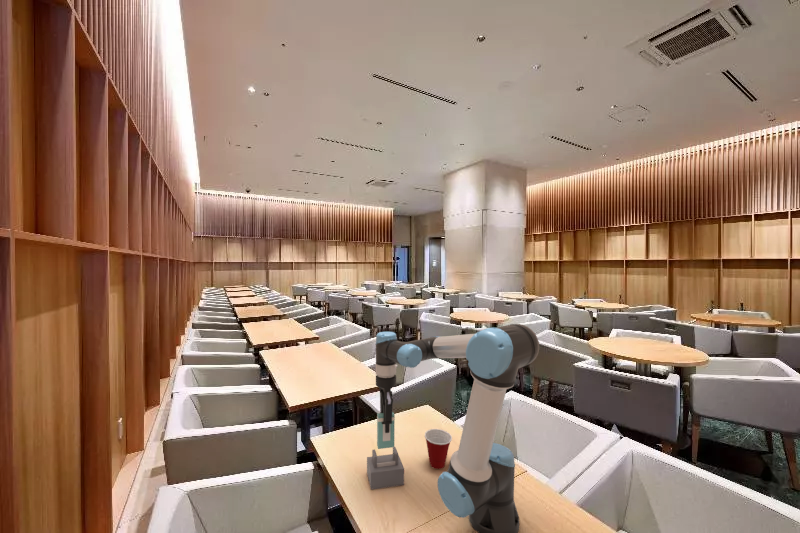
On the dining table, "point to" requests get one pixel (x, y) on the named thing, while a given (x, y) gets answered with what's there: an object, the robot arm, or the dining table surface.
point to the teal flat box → (380, 442)
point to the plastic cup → (437, 447)
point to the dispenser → (385, 470)
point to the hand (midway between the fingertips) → (385, 438)
